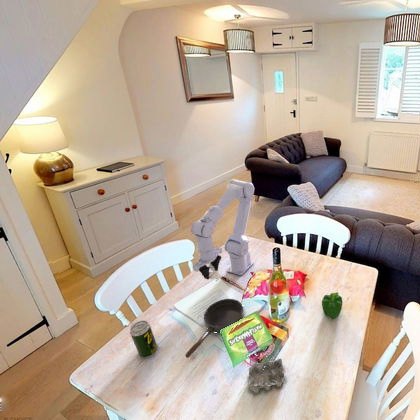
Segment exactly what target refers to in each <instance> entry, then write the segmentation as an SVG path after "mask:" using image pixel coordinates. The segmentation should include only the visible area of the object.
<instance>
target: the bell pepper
mask: <svg viewBox="0 0 420 420" xmlns="http://www.w3.org/2000/svg"><path fill="white" fill-rule="evenodd" d="M321 309H322V311H323V315H324V316H325V317H328V318H329V319H330V320H335V319H337V318H338V317H339V316H340V313H341V311H342V309H343V297H342V296H341V295H339V292H338V291H336V292H332V293H330V294H324V296H323V297H322V300H321Z"/></svg>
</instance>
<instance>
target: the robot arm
mask: <svg viewBox="0 0 420 420" xmlns="http://www.w3.org/2000/svg"><path fill="white" fill-rule="evenodd" d="M255 189H256V188H255V187H254V184H253V183H252V182H249V181H245V180H244V181H243V180H240V179H236V178H233V179H231V180H230V181H229V182H228V184H227V185H226V190H225V192H224V193H223V195H222V196H221V197H220V199H219V200H218V202H217V203H216V204H215V205H211V206H210V207H209V208H208V209H207V211H206V212H205V213H204V214H203V216H202V217H201V218H200V219H198V220H196V221H194V222H193V223H192V225H191V229H190V232H191V234H193V235H194V238H195V240H196V245H197V249H198V253H199V254H198V260H197V261H196V262H195V264H194V265H193V266H192V271H193V272H197V273H198V272H200V274H201V273H202V275H203V276H202V277H203V278H204V279H205V280H211V279H210V275H209V272H210V270H211V269H210V267H209V263H211V264H212V266H213V267H214V269H215V270H216V271H218V272H219V265H220V263H221V260H222V255H219V254H221V253H223V249H224V251H225V252H227V254H228V255H229V263H230V267H229V269H227V272H228V273H231V274H235V275H238V276H242V275H244V273H246V272H247V270H249V269H250V267H252V265H253V262H252V261H251V260H252V259H251V253H250V251H249V239H248V237H246V230H247V226H248V221H249V216H250V210H251V207H252V202H253V199H254V195H255V194H254V193H255ZM235 199H238V201H239V202H238V207H237V211H236V215H235V221H234V226H233V230H232V234H230V235H228V236H227V238H226V241H225V243H224V247H223V248H221V247H217V248H215V246H214V241H213V235H214V233H215V232H214V231H215V229H216V225H217V224H218V222H219V221H220V220H221V219H222V217H223V216H224V210H225V209H226V208H227V207H228V206H229V205H230V204H231V203H232V202H233V200H235Z"/></svg>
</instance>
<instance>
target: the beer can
mask: <svg viewBox="0 0 420 420" xmlns="http://www.w3.org/2000/svg"><path fill="white" fill-rule="evenodd" d="M129 334H130V336H131V339H132V342H133V343H134V346H135V349H136V351H137V353H138V356H139V357H140V358H142V359H148V358H151V357H152V356H153V355H155V354H156V352H157V350H158V344H157V340H156V337H155V335H154V332H153V329H152V328H151V324H150V322H148V320H139V321H137V322H135V323H133V324H132V325H131V326H130V328H129Z"/></svg>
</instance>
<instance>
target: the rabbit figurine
mask: <svg viewBox="0 0 420 420" xmlns="http://www.w3.org/2000/svg"><path fill="white" fill-rule="evenodd" d="M208 267H210V269H209V270H211V271H209V276H210V279H209V280H211V281H213V280H215V282H218V281H219V280H220V278H221V277H222V274H221V273H219V270H218V271H216V270H215V269H214V267H213V266H212V264H211V263H208ZM201 276H202V277H204V276H203V275H202V273H201V272H200V277H201Z"/></svg>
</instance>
